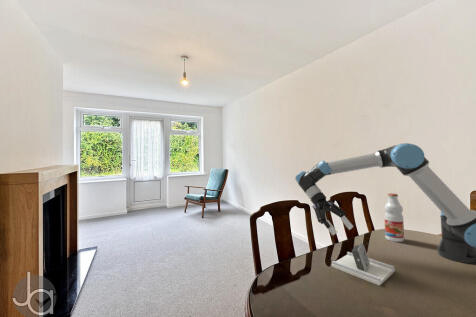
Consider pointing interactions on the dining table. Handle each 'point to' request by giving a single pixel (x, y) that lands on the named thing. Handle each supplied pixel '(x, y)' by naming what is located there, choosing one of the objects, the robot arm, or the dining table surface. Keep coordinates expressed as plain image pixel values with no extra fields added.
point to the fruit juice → (394, 219)
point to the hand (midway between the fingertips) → (343, 230)
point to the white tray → (374, 273)
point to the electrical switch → (360, 257)
